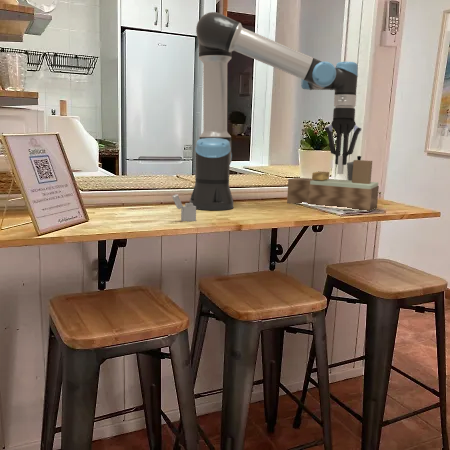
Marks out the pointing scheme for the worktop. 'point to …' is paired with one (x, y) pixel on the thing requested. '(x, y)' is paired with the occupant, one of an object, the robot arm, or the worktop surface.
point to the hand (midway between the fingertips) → (340, 173)
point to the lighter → (185, 209)
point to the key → (320, 175)
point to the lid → (353, 177)
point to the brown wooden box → (331, 195)
